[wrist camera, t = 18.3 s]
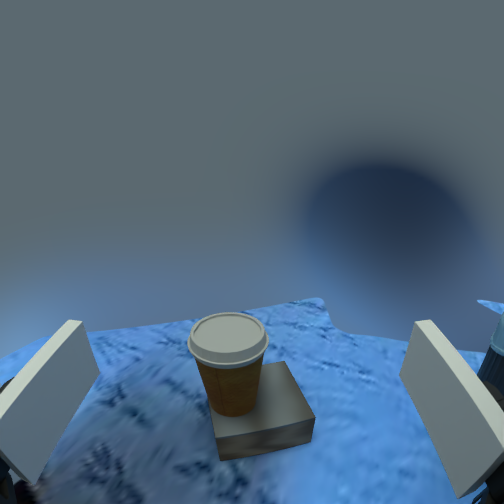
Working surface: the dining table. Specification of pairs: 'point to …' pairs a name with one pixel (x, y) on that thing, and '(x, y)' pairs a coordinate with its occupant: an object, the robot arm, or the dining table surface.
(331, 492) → the dining table surface
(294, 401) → the block
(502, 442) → the robot arm
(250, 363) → the disposable coffee cup
